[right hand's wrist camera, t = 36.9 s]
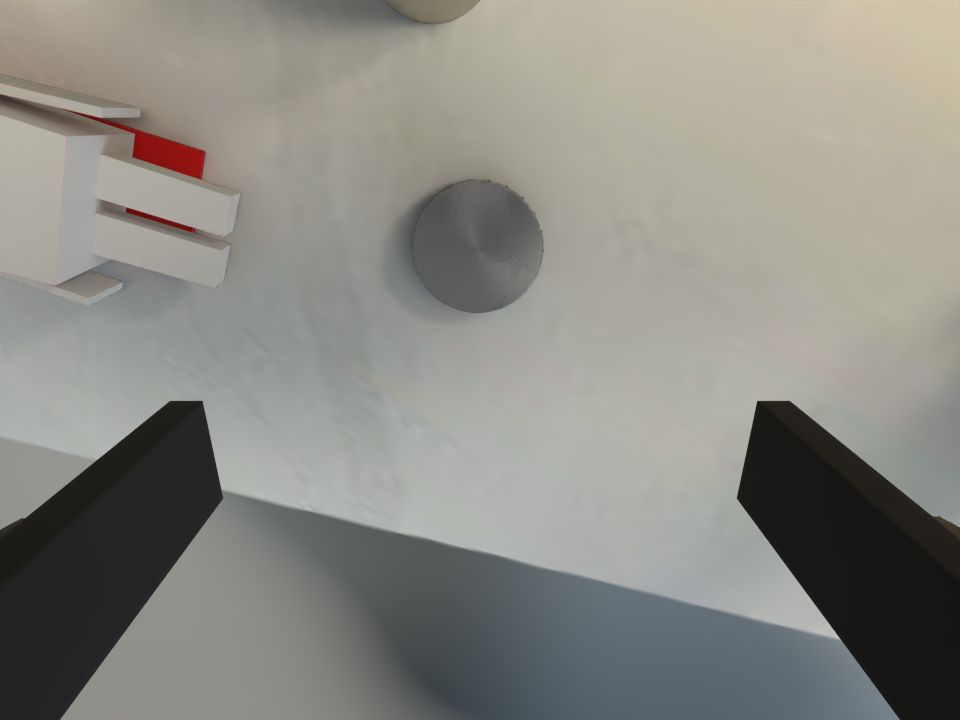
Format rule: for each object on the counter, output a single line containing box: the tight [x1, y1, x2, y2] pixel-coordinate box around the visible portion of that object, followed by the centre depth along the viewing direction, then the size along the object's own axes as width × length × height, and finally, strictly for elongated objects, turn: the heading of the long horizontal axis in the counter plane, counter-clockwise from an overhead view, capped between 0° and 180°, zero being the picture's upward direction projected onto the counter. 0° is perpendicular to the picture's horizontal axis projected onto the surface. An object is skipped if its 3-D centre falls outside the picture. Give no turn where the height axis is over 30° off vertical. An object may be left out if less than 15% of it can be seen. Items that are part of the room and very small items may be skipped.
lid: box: [412, 179, 544, 313], centre depth 39 cm, size 10×10×2 cm
